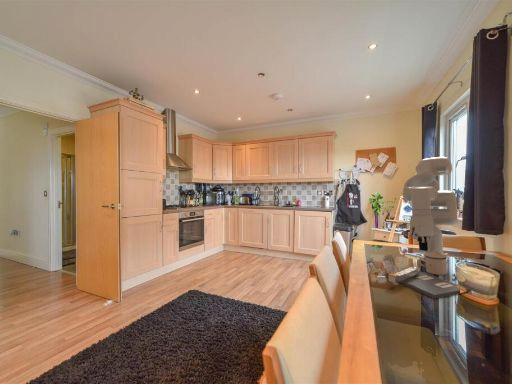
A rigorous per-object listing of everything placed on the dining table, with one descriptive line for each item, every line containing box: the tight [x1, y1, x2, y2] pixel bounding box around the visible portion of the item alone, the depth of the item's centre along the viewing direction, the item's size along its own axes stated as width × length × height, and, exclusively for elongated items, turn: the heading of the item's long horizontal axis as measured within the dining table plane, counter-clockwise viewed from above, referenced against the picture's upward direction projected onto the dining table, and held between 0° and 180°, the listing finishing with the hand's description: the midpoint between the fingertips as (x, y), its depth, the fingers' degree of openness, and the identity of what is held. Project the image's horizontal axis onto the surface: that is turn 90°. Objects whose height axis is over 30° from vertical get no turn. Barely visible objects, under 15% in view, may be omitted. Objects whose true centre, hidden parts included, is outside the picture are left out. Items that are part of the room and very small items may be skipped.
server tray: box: [398, 271, 460, 299], centre depth 105 cm, size 18×21×2 cm
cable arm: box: [388, 265, 421, 284], centre depth 110 cm, size 22×4×3 cm, turn 118°
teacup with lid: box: [417, 250, 448, 276], centre depth 120 cm, size 12×9×12 cm
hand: (423, 250), depth 109 cm, fingers closed
